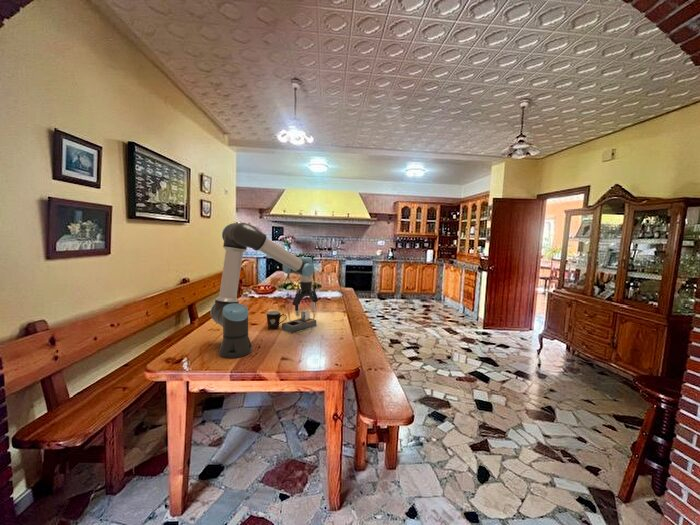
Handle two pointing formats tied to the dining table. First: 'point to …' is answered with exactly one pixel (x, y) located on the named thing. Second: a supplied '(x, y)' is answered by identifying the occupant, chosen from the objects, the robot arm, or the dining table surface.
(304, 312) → the aluminium peg
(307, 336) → the dining table surface
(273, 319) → the coffee mug
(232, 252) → the robot arm
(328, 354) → the dining table surface
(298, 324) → the grey cinder block
